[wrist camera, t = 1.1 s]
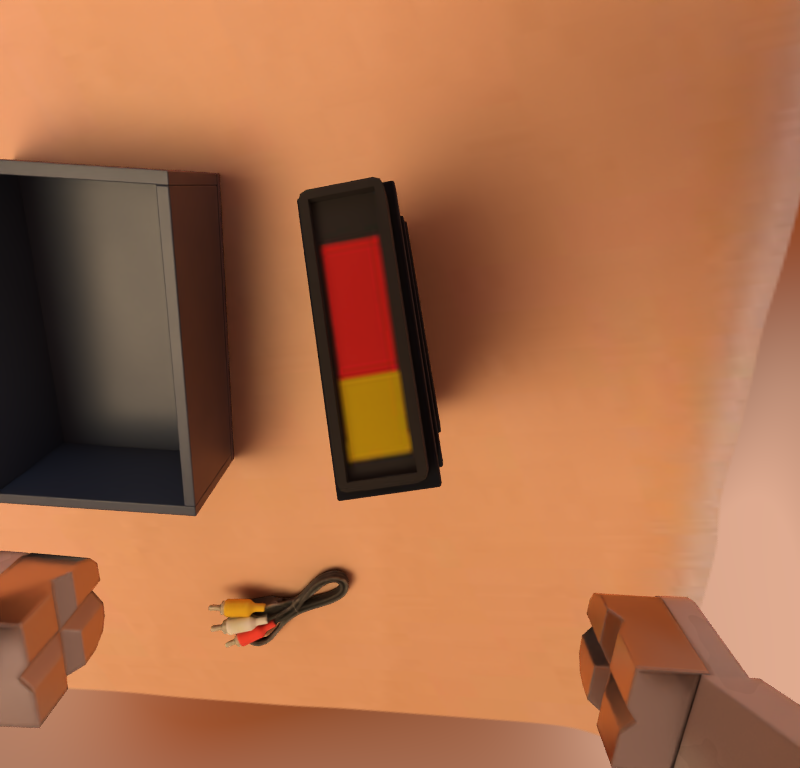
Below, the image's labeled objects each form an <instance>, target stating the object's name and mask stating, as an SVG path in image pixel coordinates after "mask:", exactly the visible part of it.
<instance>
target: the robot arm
mask: <svg viewBox="0 0 800 768" xmlns="http://www.w3.org/2000/svg"><path fill="white" fill-rule="evenodd" d="M99 581H100V576H99V571H98V565H97V563H96V562H95V561H93V560H92V559H90V558H82V557H71V556H60V555H49V554H38V553H30V554H29V553H23V552H10V551H0V726H1V727H2V726H3V727H27V728H40V726H41V725H42V724H43V722H44V721H45V720H46V718H47V717H48V715H49V714H50V713H51V711H52V710H53V709H54V707H55V706H56V704H57V703H58V702H59V700H60V699H61V698H62V696H63V695H64V693H65V692H66V691H67V689H68V685H67V675H69V674H71V673H72V672H74V671H76V670H77V669H79V668H81V667H82V666H84V665H85V664H86V663H87V661H88V660H89V659H90V657H91V656H92V654H93V653H94V651H95V650H96V648H97V645H98V642H99V640H100V637H101V634H102V632H103V626H104V617H105V614H104V606H103V602H102V601H101V600H100V599H99V598H98V597H97V595H96V594H95V593H94V592H93V591H92V590H93V589H94V588H95V586H96V585H97V584H98V582H99ZM587 615H588V618H589V620H590V622H591V625H592V627H591V628H590V629H589V630H588V631H587V632H586V633H585V634H583V635H582V639H581V645H580V651H579V660H580V674H581V679H582V684H583V688H584V690H585V693H586V696H587V699H588V700H589V701H590V702H591V703H592V704H593V705H594V706H595V707H596V708H597V709H598V710H600V713H599V717H598V722H597V728H598V730H599V733H600V736H601V739H602V741H603V744H604V747H605V750H606V753H607V755H608V758H609V761H610V764H611V766H612V768H800V705H799V704H797V703H796V702H794V701H793V700H791V699H790V698H788V697H786V696H785V695H784V694H782V693H781V692H779V691H778V690H776V689H775V688H773V687H772V686H770V685H769V684H767V683H766V682H764V681H763V680H761V679H756V678H749V677H748V675H747V674H746V672H745V671H744V670H743V669H742V667H741V666H740V664H739V663H738V661H737V660H736V659H735V657H734V656H733V654H732V653H731V652H730V650H729V649H728V648H727V646H726V645H725V643H724V642H723V641H722V639H721V638H720V637H719V635H718V634H717V632H716V631H715V630H714V628H713V627H712V625H711V624H710V623H709V621H708V620H707V618H706V617H705V616H704V614H703V613H702V612H701V610H700V609H699V607H698V606H697V605H696V603H695V602H694V601H692V600H691V599H689V598H688V597H671V596H655V597H649V596H634V595H618V594H602V593H594V594H593V595H592V597H591V599H590V601H589V605H588V610H587Z"/></svg>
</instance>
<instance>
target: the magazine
mask: <svg viewBox="0 0 800 768" xmlns="http://www.w3.org/2000/svg"><path fill="white" fill-rule="evenodd" d="M297 204H298V211H299V218H300V226H301V233H302V241H303V248H304V255H305V263H306V270H307V278H308V285H309V292H310V300H311V307H312V315H313V322H314V329H315V337H316V344H317V351H318V359H319V366H320V374H321V381H322V388H323V396H324V403H325V411H326V418H327V425H328V433H329V440H330V448H331V455H332V462H333V470H334V477H335V484H336V492H337V499H338V500H339V501H343V500H350V499H357V498H364V497H371V496H378V495H385V494H392V493H399V492H406V491H413V490H420V489H427V488H434V487H440V486H441V483H442V482H441V475H440V469H439V467H442V466H443V459H442V453H441V447H440V441H439V434H438V433H439V432H441V427H440V420H439V414H438V408H437V402H436V396H435V390H434V384H433V378H432V372H431V366H430V360H429V354H428V348H427V342H426V336H425V330H424V324H423V318H422V312H421V306H420V300H419V294H418V288H417V282H416V276H415V270H414V264H413V258H412V252H411V246H410V240H409V234H408V228H407V223H406V222H405V221H404V218H403V216H400V212H399V205H398V199H397V192H396V187H395V183H394V181H388V182H383V183H382V181H381V180H380V178H374V177H371V178H365V179H360V180H355V181H350V182H345V183H340V184H335V185H329V186H324V187H319V188H314V189H309V190H306V191H304V192H302V193H301V194H300V197H299V199H298V200H297Z"/></svg>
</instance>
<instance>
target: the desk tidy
mask: <svg viewBox="0 0 800 768" xmlns="http://www.w3.org/2000/svg"><path fill="white" fill-rule="evenodd" d="M233 459H234V449H233V430H232V410H231V390H230V371H229V351H228V331H227V312H226V292H225V273H224V253H223V233H222V214H221V194H220V175H219V173H206V172H191V171H176V170H161V169H145V168H130V167H115V166H100V165H85V164H69V163H54V162H39V161H24V160H8V159H0V503H11V504H26V505H40V506H55V507H70V508H85V509H99V510H114V511H129V512H144V513H158V514H173V515H188V516H196V515H197V513H198V512H199V510H200V509H201V507H202V506H203V504H204V503H205V501H206V500H207V498H208V497H209V495H210V494H211V492H212V491H213V489H214V488H215V486H216V485H217V483H218V482H219V480H220V479H221V477H222V476H223V474H224V473H225V471H226V470H227V468H228V467H229V465H230V464H231V462H232V461H233Z"/></svg>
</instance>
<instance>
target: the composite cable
mask: <svg viewBox="0 0 800 768" xmlns="http://www.w3.org/2000/svg"><path fill="white" fill-rule="evenodd" d="M331 582H337V583H338V584H339V586H338V587H337V588H336V589H334V590H332V591H330V592H327V593H324V594H320V595H316V596H312V595H313V594H314V593H315V592H316V591H318V590H319V589H320V588H321V587H323V586H324V585H326V584H328V583H331ZM348 582H349V580H348V577H347V575H346V574H345V573H344V572H341V571H338V570H333V571H328V572H325V573H323V574H321V575H319V576H317V577H316V578H315V579H314V580H313V581H311V582H310V584H309V585H308V586H307V587H306V588H305V589H304V590H303V591H302V592H301V593H300V594H299V595H298V596H296V597H292V598H287V599H285V598H283V597H281V598H277V597H275V596H267V597H261V598H256V599H251V600H250V599H227V600H226V601H223V602H222V604H221V605H214V604H213V605H210V606H209V610H210V611H220V614H221V615H225V616H226V617H228V618H227V619H226V620H224V621H223V623H222V624H221V625H214V626H212V627H211V631H212V632H214V631H219V630H222V631H223V633H224V634H229V635H233V634H236V636H235V638H234V640H231V641H229V642H227V643H226V645H225V646H226V647H230V646H232V645H237V646H238V647H240V646H245V645H247V644H251V645H254V646H261V645H264V644H267V643H268V642H270V641H271V640H272V639H273V638H274V637H275V636H276V634H277V633H278V632H279V631H280V629H281V628H282V627H283V626H284V625H285V624H286V623H287V622H289V621H290V620H291V619H292V618H294V617H295V616H297V615H299V614H301V613H304V612H306V611H309V610H312V609H315V608H319V607H322V606H325V605H328V604H331V603H334V602H336V601H338V600H340V599H341V598H342V597H344V596H345V595H346V593H347V591H348V588H349V585H348V584H349V583H348ZM311 596H312V597H311ZM278 622H280V623H279V625H278V626H277V627H276V628H275V629H274V631H273V632H272V633H271V634H270V635H268V636H267V637H264V635H265V634H266V632H267V631H268V630H270V629H271V628H274V627H275V626H276V625H277V623H278Z"/></svg>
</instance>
